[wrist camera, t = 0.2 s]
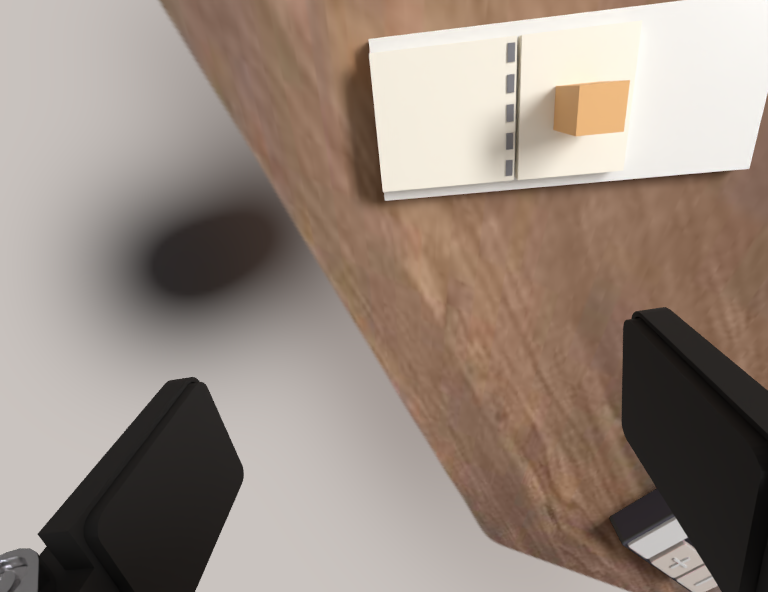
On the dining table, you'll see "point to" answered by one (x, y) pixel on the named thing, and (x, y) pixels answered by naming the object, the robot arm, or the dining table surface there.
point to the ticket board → (499, 98)
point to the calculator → (661, 541)
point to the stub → (575, 100)
